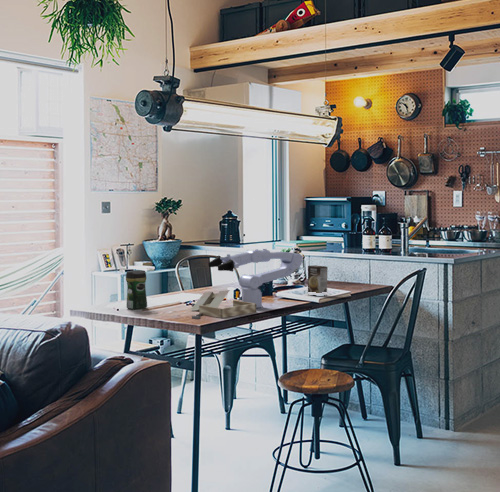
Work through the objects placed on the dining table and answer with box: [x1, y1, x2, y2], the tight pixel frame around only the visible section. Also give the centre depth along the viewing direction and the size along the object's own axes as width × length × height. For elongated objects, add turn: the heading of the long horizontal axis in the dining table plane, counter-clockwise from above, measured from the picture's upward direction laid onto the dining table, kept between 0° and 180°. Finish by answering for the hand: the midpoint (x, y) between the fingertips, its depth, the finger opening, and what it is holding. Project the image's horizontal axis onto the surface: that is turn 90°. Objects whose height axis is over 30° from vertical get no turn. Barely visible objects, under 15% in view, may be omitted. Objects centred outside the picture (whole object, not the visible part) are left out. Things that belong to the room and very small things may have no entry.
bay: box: [198, 299, 257, 319], centre depth 318 cm, size 22×15×4 cm
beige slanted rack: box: [189, 289, 230, 312], centre depth 328 cm, size 16×9×15 cm
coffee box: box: [307, 265, 328, 293], centre depth 373 cm, size 9×6×16 cm
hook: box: [191, 313, 204, 320], centre depth 308 cm, size 10×3×1 cm, turn 157°
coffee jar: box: [125, 269, 148, 310], centre depth 332 cm, size 10×8×19 cm
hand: (213, 266), depth 320 cm, fingers open, 7 cm apart
